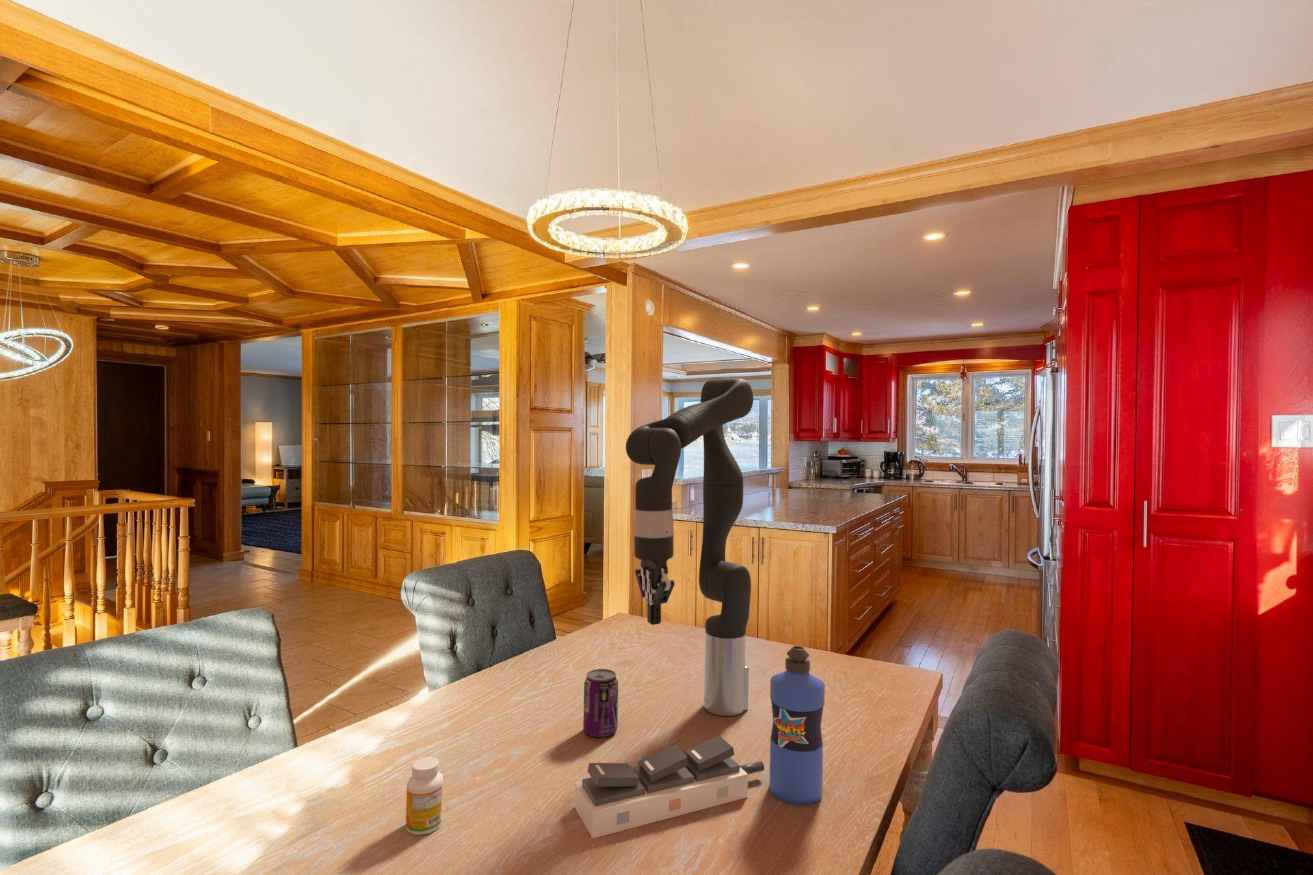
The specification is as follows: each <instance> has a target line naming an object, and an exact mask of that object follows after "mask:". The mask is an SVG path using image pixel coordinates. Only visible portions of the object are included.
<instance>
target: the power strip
mask: <svg viewBox="0 0 1313 875" xmlns="http://www.w3.org/2000/svg"><path fill="white" fill-rule="evenodd" d="M687 760H688V759H687ZM632 769H633V770H634V771H635V773H636V774H637V775H638V777H639V781H638V786H604V787H597V785H596V784H595V782H594V781H593V779H592V778H591V777H588V778H587V777H586V778H583V779H582V780H580V781H576V782H574V809H575V810H576V813H577V814H578V815H579V817H580V819H581V821H582V824H583V825H584V827H585V828H586V830H587V832H588V833H589V835H590V837H591V839H597V838H600V837H604V836H608V835H612V834H614V833H619V832H623V831H626V830H630V829H634V828H638V827H641V826H646V825H649V824H653V823H655V822H660V821H664V820H667V819H671V818H675V817H679V816H683V815H686V814H690V813H694V812H698V811H701V810H704V809H705V810H707V809H709V807H710V808H713V807H716V806H720V805H724V804H729V803H731V802H735V801H736V802H737V801H740V800H744V799H748V796H749V795H748V793H749V792H748V791H749V790H748V788H749V786H748V785H749V775H753V774H755V773H756V774H757V773H760V772H763V771H765V765H764V762H763V761H762V760H760V761H756V762H751V763H748V764H744V765H740V764H739V763H738V762H737V761H735V759H733V758H732V757H729V758H727V759H725V760H723V761H721V762H719V763H717V764H715V765H713V766H711V767H708V768H706V769H704V770H702V771H699V770H698V769H697V768H696V767H695V766H694V765H693V764H692V763H691V762H690V761H689V760H688V766H686V767H684V768H682V769H680V770H678V771H676V772H674V773H672V774H670V775H668V776H666V777H664V778H662V779H660V780H658V781H656V782H654V783H652V784H651V782H650V781H649V780H648V779H647V778H646V776H645V775H644V774H643V773H642V771H641V770H640V768H639V766H635V767H632Z"/></svg>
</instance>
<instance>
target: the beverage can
mask: <svg viewBox="0 0 1313 875" xmlns="http://www.w3.org/2000/svg"><path fill="white" fill-rule="evenodd" d="M583 683H584V684H583V686H584V687H583V721H582V722H583V723H582V725H583V726H582V728H583V731H584V733H586V734H587V735H590V736H592V737H595V738H604V737H608V736H610V735H612V734H614V733H616V732H617V731H618V721H619V720H618V715H619V713H618V712H619V681H618V679H617V672H616V671H614V670H612V669H608V668H595V669H592V670H589V671H588V672H586V678H585V680H584V682H583Z"/></svg>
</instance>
